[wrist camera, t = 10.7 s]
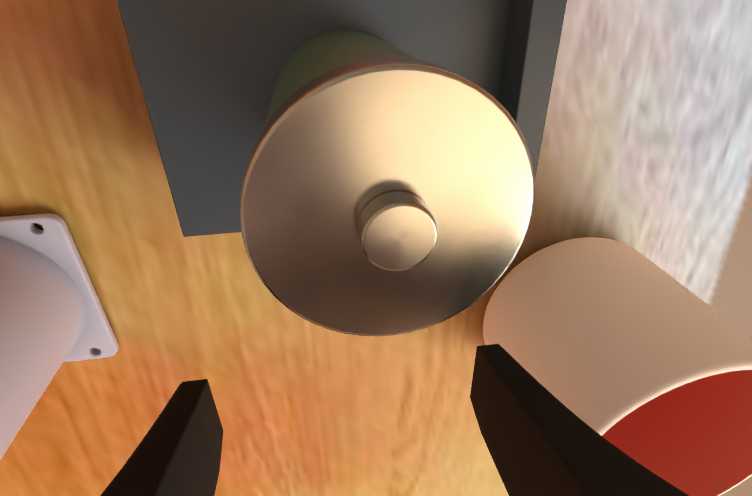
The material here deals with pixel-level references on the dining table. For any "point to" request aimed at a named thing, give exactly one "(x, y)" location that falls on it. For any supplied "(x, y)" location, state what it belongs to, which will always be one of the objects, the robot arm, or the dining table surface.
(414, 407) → the dining table surface
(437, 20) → the grey channel-top block
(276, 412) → the dining table surface
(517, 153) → the canister
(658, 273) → the cup
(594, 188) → the dining table surface
